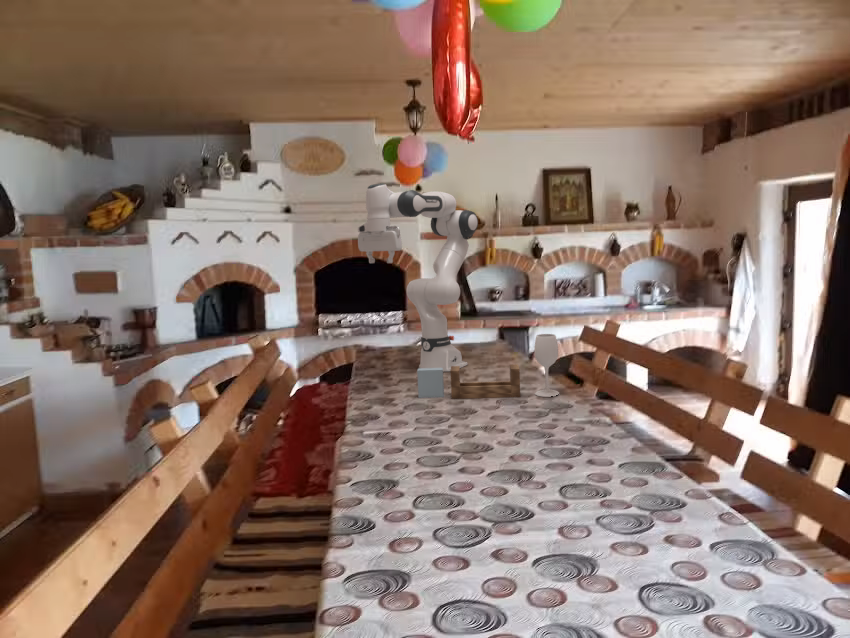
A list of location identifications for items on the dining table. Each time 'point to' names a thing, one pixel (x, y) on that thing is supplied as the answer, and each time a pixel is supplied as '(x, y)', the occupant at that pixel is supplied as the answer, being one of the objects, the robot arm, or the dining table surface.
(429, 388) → the door panel
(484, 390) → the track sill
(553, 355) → the wineglass
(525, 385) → the dining table surface
